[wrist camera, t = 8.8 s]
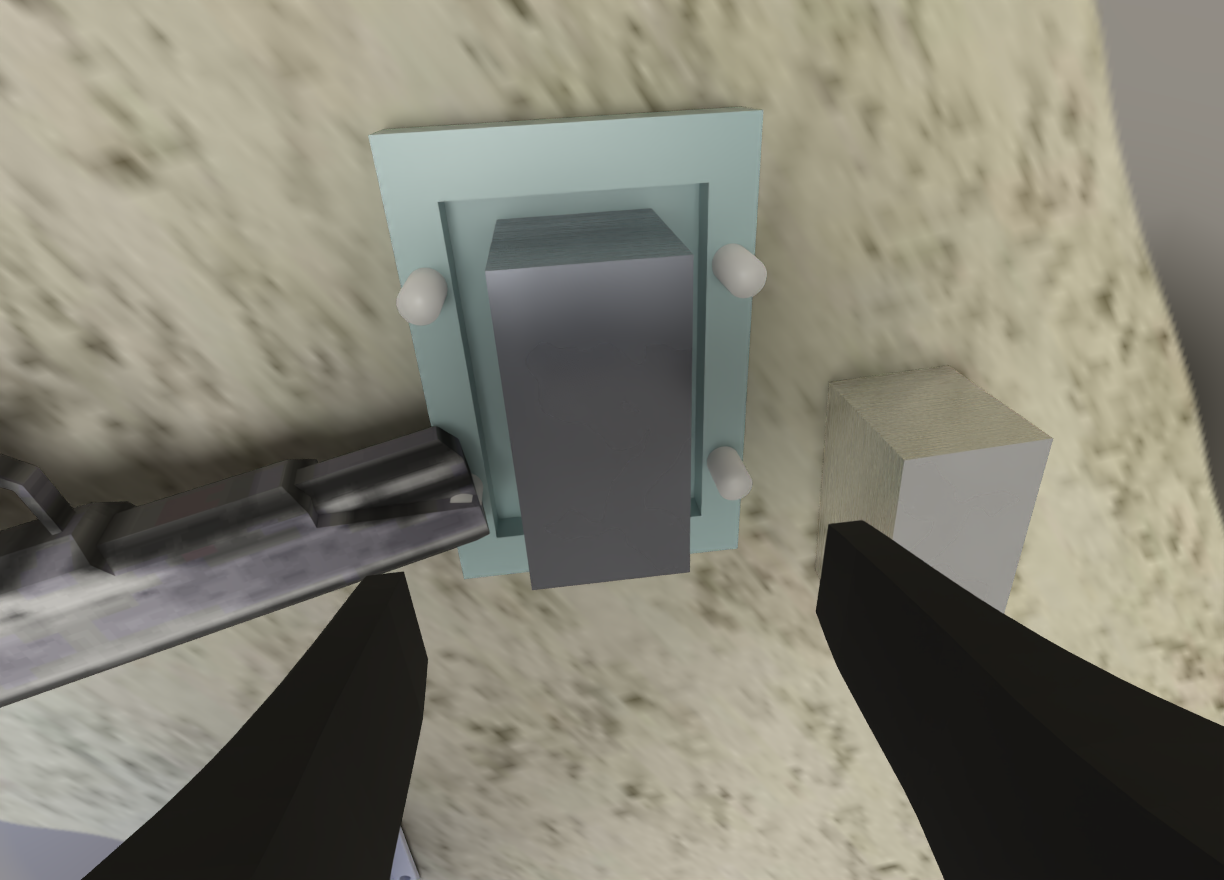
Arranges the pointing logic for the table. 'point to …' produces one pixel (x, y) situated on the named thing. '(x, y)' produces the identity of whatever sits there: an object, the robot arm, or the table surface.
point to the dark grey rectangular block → (596, 391)
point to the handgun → (214, 553)
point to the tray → (557, 185)
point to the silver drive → (933, 473)
